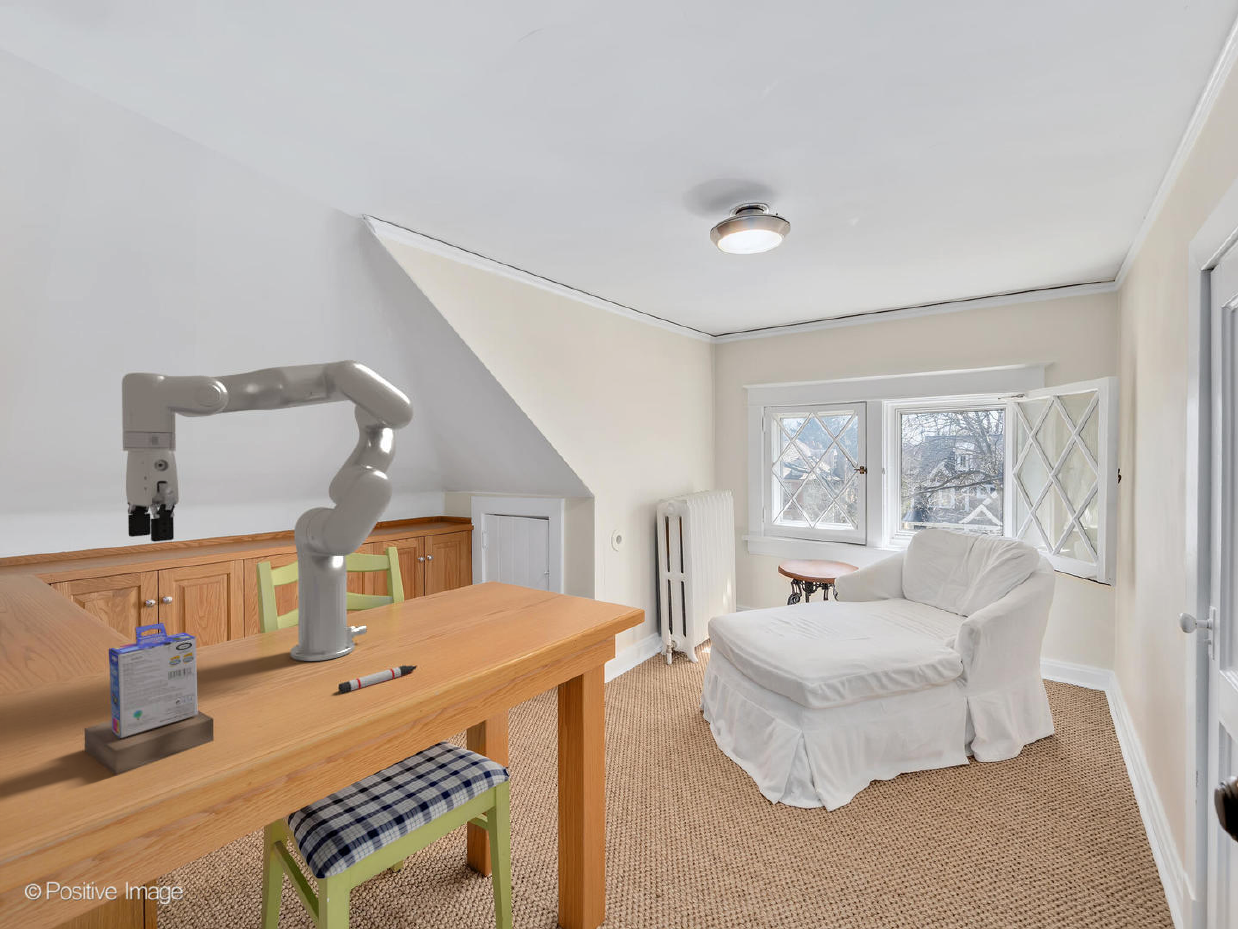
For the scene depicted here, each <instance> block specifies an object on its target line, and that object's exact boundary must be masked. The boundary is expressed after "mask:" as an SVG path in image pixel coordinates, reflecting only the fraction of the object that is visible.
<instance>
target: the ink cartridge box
mask: <svg viewBox="0 0 1238 929" xmlns="http://www.w3.org/2000/svg"><path fill="white" fill-rule="evenodd" d="M164 623H165V622H161V623H155V624H148V625H143V626H137V627H135V628H134V630H135V640H136V642H134V643H129V644H126V645H125V644H124V645H120V646H115V647H109V649H108V661H109V662H108V663H109V684H110V709H111V720H112V729H111V730H112V731H113V732H114V733H115V734H116V735H117V736H118V737H119V738H123V737H127V736H130V735H133V734H136V733H139V732H143V731H146V730H149V729H153V728H156V727H159V726H163V725H166V724H169V723H173V722H176V721H179V720H183V719H186V718H189V717H193V716H196V715H197V714H198V711H199V709H198V679H197V678H198V675H197V637H196V636H193V635H191V634H189V633H186V632H180V633H176V634H171V635H170V634H169V635H168V634H167V631H166V626H165V625H164ZM149 630H160V632H159V633H152V634H148V635H141V634H142V633H144V632H147V631H149Z"/></svg>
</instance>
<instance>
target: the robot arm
mask: <svg viewBox="0 0 1238 929" xmlns="http://www.w3.org/2000/svg"><path fill="white" fill-rule="evenodd" d="M344 401H345V402H347V401H350V402H352V404H354V405H355V407H354V418H355V421H356V425H357V426H358V428H357V429H358V434H359V436H358V440H357V441H358V442H357V444H356V446H355V448H353V451H352V452H351V454H350V455H349V457H348V458H347V459H346V461H344V463H343V465H342V466H341V468H339V470H338V471H337V472H336V474H335V476H334V477H333V478H332V479H331V482H330V483H329V486H328V496H329V498H330V500H331V501H332V503H334V504H335V506H334V507H333V508H330V507H325V506H324V507H314V508H310V509H308V510H306V511H305V512H304V513H302V514H301V515H300V516H299V517H298V519H297V521H296V523H295V526H294V530H293V531H294V533H293V534H294V544H295V550H296V551H295V552H296V556H297V558H296V559H297V567H298V568H297V570H298V572H297V574H298V576H297V577H298V583H297V584H298V585H297V587H298V588H297V589H298V590H297V591H298V592H297V594H298V596H297V597H298V599H297V601H298V602H297V604H298V605H297V606H298V607H297V608H298V611H297V612H298V613H297V614H298V622H297V623H298V644H296V645H295V646H293V647H292V648H291V649H290V657H291V658H292V659H293V660H296V661H302V662H318V661H327V660H332V659H336V658H340V657H344V656H345V655H348V654H350V653H351V652H352V651H354V649H355V641H353V640H352V639H354V638H355V636H361V635H365V634H366V633H367V631H368V630H367V626H366V625H359V626H356V627H355V626H354V625H352V626H347V624H348V621H347V620H348V619H347V618H348V613H347V612H348V610H347V609H348V608H347V607H348V605H347V603H348V602H347V601H348V599H347V598H348V595H347V594H348V593H347V592H348V591H347V584H348V583H347V580H348V574H347V572H348V570H347V558H346V557H347V556H349V555H351V554H353V553H355V552H356V551H357V550H358V549H359V548H360V547H361V546H362V545H363V544H364V543H365V541H366V540H367V538H368V537H369V535H370V534H371V532H372V531H373V530H374V528H375V527H376V525H377V523H378V521H379V520H381V517H382V516H383V514H384V513H385V512H386V509H387V508H388V506H389V504H390V502H391V499H392V496H393V484H392V482H391V479H390V478H389V476H388V475H387V474H386V472H387V471H388V469H389V468H390V466H391V465H392V462H393V460H394V458H395V455H396V451H397V442H396V435H395V431H397V430H401V429H402V430H403V429H404V428H406V427H407V426H408V425H409V424H410V423H411V421H412V420H413V416H414V408H413V404H412V402H411V399H409V397H408V396H406V394H404V392H402V391H401V390H400V389H398V388H397V387H395V386H394V385H392V384H391V383H390V382H388V381H387V380H386V379H384V378H383V377H382V376H380V375H379V374H378V373H377V372H375V371H374V370H372V369H371V368H369V367H367V366H366V365H364V364H363V363H360V362H358V361H356V360H353V359H352V360H351V359H347V360H345V359H344V360H340V361H333V362H326V363H325V362H324V363H311V364H302V365H289V366H287V365H286V366H274V367H268V368H263V369H257V370H253V371H249V372H243V373H237V374H229V375H221V376H220V375H219V376H207V375H183V376H182V375H181V376H179V375H174V376H173V375H172V376H171V375H166V374H160V373H153V372H131V373H127V374H125V375H124V376H123V377H122V380H121V404H122V405H121V412H122V414H121V415H122V416H121V417H122V451H123V452H127V459H126V472H125V474H126V476H125V490H126V491H125V493H126V501H127V505H128V508H127V514H128V516H127V517H128V518H127V520H128V521H127V523H128V536H129V537H131V538H132V537H143V536H149V535H150V541H152V542H163V541H164V542H165V541H172V540H174V539H175V538H174V537H175V536H174V535H175V533H174V528H175V525H174V517H175V512H174V511H175V510H174V509H175V507H176V505H178V503H179V500H180V499H179V498H180V497H179V480H178V468H177V463H176V457H175V455H176V454H175V452H176V451H177V450H176V447H177V445H176V442H177V441H176V435H177V434H176V414H177V415H179V416H182V417H187V418H199V417H201V418H202V417H203V418H204V417H210V416H213V415H220V414H226V413H236V412H245V411H247V412H248V411H272V410H273V411H274V410H281V409H282V410H283V409H290V408H298V407H304V406H305V407H306V406H314V405H321V404H329V403H337V402H344ZM149 509H150V511H151V513H150V512H149ZM148 512H149V513H148ZM151 514H152V518H151Z"/></svg>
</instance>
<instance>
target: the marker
mask: <svg viewBox="0 0 1238 929" xmlns="http://www.w3.org/2000/svg"><path fill="white" fill-rule="evenodd" d="M417 666H418V665H414V666H413V665H412V664H411V665H405V664H404V665H402V666H397V667H393V668H390V669H386V670H383V671H378V672H375V673H373V674H369V675H365V676H362V677H358V678H355V679H351V680H348V681H345V682H342V683H341V682H340V683H339V684H338V692H339V693H341V694H346V693H349V692H354V691H357V690H360V689H365V688H366V687H370V686H375V685H376V684H380V683H384V682H387V681H390V680H393V679H394V680H395V679H397V678H400V677H403V676H407V675H408V674H409V673H412V672H414V670H416V669H417V668H418V667H417Z"/></svg>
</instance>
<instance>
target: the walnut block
mask: <svg viewBox="0 0 1238 929" xmlns="http://www.w3.org/2000/svg"><path fill="white" fill-rule="evenodd" d="M111 729H112V719H110V720H107V721H104V722H101V723H97V724H94V725H90V726H87V727H84V752H86V753H87V754H88V755H89V756H91V757H92V758H93V759H95V760H96V761H97V762H99V764H101V765H102V766H103V767H105V768H106V769H107V770H109V771H110V772H111V773H112V774H114V775H115V776H119V775H122V774H125V773H128V772H131V771H134V770H136V769H138V768H139V769H140V768H141V767H144V766H147V765H151V764H153V763H155V762H158V761H160V760H164V759H166V758H169V757H171V756H172V757H173V756H175V755H178V754H180V753H183V752H187V751H189V750H191V749H194V748H197V747H200V746H202V745H205V744H208V743H212V742H213V741H214V718H213V717H211V716H210V715H207V714H205V713H204V712H201V711H200V710H198V714H197V715H196V716H193V717H189V718H186V719H183V720H179V721H176V722H173V723H169V724H166V725H163V726H159V727H156V728H153V729H149V730H146V731H143V732H139V733H136V734H133V735H130V736H127V737H123V738H119V737H118V736H117V735H116V734H115V733H114V732H113V731H112V730H111Z"/></svg>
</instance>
